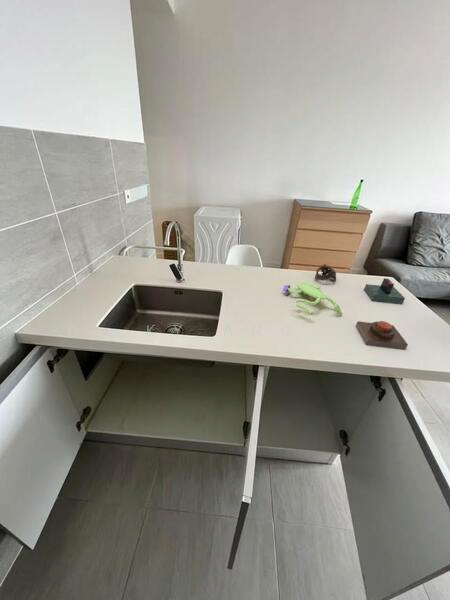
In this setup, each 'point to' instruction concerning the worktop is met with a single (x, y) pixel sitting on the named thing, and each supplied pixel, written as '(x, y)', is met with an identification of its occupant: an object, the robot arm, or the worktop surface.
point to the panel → (383, 294)
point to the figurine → (312, 292)
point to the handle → (386, 286)
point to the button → (384, 326)
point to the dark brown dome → (324, 269)
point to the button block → (380, 336)
